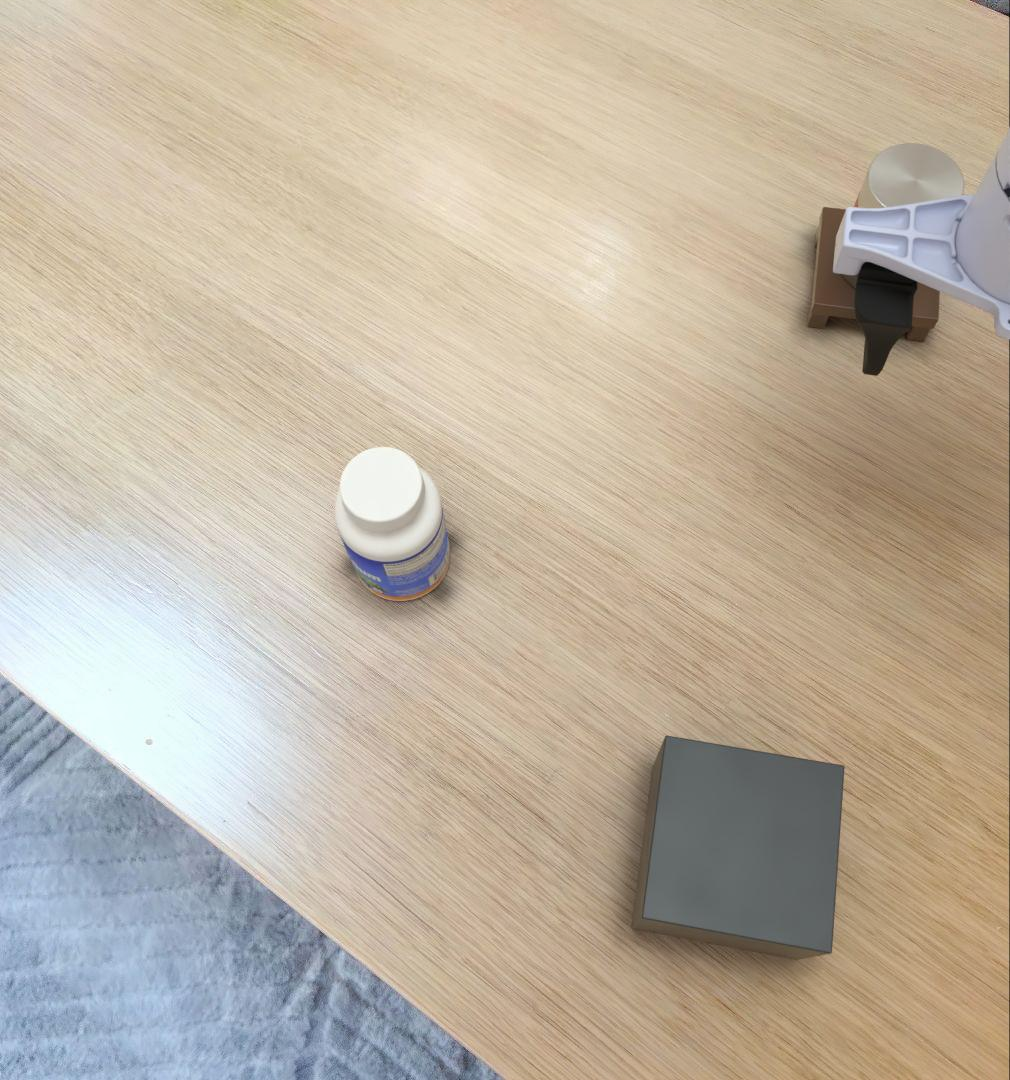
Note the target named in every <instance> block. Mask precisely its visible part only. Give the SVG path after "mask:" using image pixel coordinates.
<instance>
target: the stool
mask: <svg viewBox="0 0 1010 1080" xmlns="http://www.w3.org/2000/svg"><path fill="white" fill-rule="evenodd" d="M845 211H846V208H838V207H830V206H823V207H822V209H821V213H820V216H819V220H818V227H817V229H816V233H815V240H814V247H815V248H816V250H815V251H816V252H815V262H814V274H813V283H812V285H813V286H812V293H811V294H812V296H811V303H810V304H811V305H810V308H809V310H808V312H807V313H808V314H807V322H806V323H807V324H806V325H807V327H809V328H816V329H825V327H826V324H827V321H828V319H829V317H835V318H842V319H843V318H844V319H852V320H856V316H855V309H854V299H855V288H854V287H852V286H851V285H850V284H849V283H848V282H847V281H846V280H845V279H844V277H843V276H842V274H838V273H834V272H833V264H834V252H835V243H836V235H837V232H838V230H839V227H840V224H841V222H842V219H843V216H844V213H845ZM940 295H941V292H940V291H938V290H935V289H933V288H931V287H929V286H926V285H924V284H922V283H919V282H918V284H917V290H916V292H915V294H914V300H913V316H912V329H911V330H909V331H907V332H906V340H907V341H915V342H921V343H922V342H923V343H924V342H925V340H926V338H927V337H928V335H929V334H930V331H931V330H933V329H935V327H936V325H937V323H938V322H939V319H940V299H941V297H940Z"/></svg>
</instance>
